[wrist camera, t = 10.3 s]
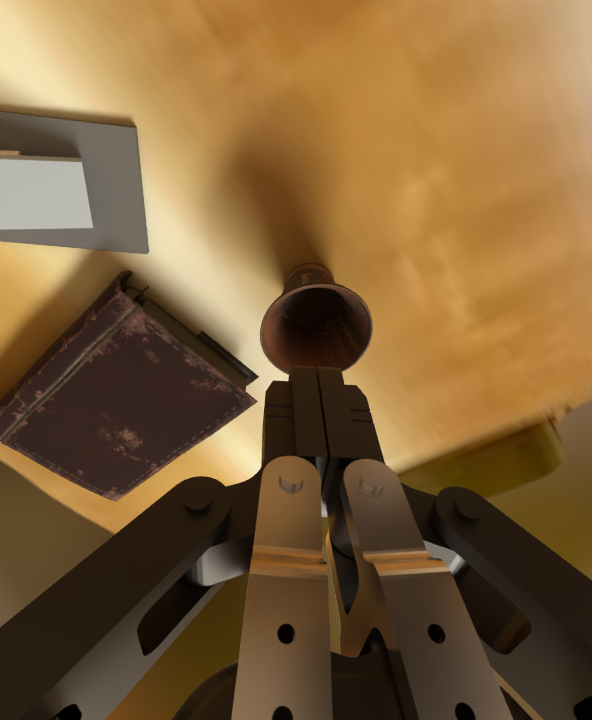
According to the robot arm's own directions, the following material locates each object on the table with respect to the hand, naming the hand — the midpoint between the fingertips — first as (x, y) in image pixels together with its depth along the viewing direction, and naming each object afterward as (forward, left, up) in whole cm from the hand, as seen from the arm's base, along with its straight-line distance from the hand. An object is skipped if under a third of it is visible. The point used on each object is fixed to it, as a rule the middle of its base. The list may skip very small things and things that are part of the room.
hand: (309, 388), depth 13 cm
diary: (+24, -16, -28) cm, 40 cm away
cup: (+9, +3, -27) cm, 29 cm away
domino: (+2, -16, -26) cm, 30 cm away
